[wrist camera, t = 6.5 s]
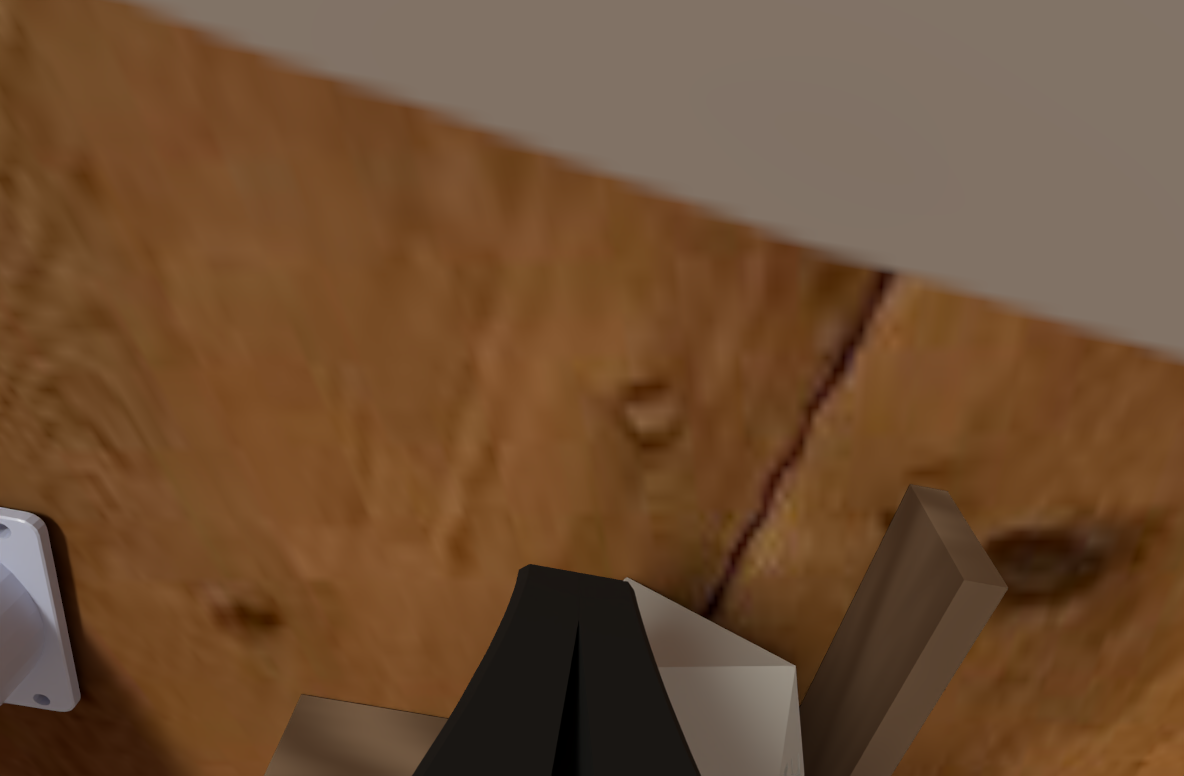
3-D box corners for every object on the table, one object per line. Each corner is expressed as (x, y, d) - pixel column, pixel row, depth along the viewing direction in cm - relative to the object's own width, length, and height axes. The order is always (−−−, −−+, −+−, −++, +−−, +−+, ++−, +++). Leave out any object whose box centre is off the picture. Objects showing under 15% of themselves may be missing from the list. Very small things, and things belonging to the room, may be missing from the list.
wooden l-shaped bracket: (301, 728, 25) (247, 851, 21) (304, 369, 18) (228, 461, 15) (800, 810, 26) (827, 940, 22) (973, 496, 19) (1050, 610, 16)
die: (689, 759, 26) (925, 972, 17) (446, 867, 22) (590, 1207, 13) (666, 530, 25) (904, 634, 16) (406, 602, 21) (537, 787, 12)
